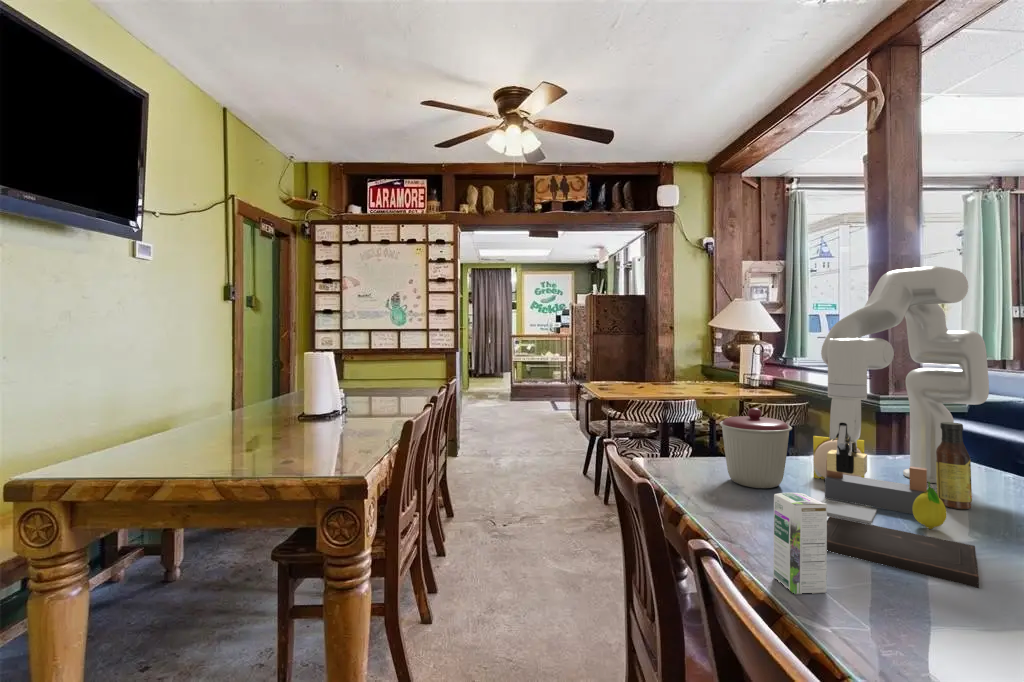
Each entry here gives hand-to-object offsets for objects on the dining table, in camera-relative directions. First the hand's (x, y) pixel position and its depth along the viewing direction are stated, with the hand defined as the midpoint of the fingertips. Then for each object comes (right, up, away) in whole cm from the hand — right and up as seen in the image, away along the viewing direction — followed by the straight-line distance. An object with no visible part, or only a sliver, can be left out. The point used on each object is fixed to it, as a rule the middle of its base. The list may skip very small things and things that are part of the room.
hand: (846, 469), depth 113 cm
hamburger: (+14, -10, +24) cm, 30 cm away
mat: (0, -10, 0) cm, 10 cm away
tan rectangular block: (0, 0, 0) cm, 0 cm away
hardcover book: (-5, -11, -20) cm, 24 cm away
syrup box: (-30, -11, -33) cm, 46 cm away
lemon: (+11, -10, -10) cm, 18 cm away
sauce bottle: (+28, -10, +4) cm, 30 cm away
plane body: (+11, -10, +6) cm, 16 cm away
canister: (-10, -10, +23) cm, 27 cm away
